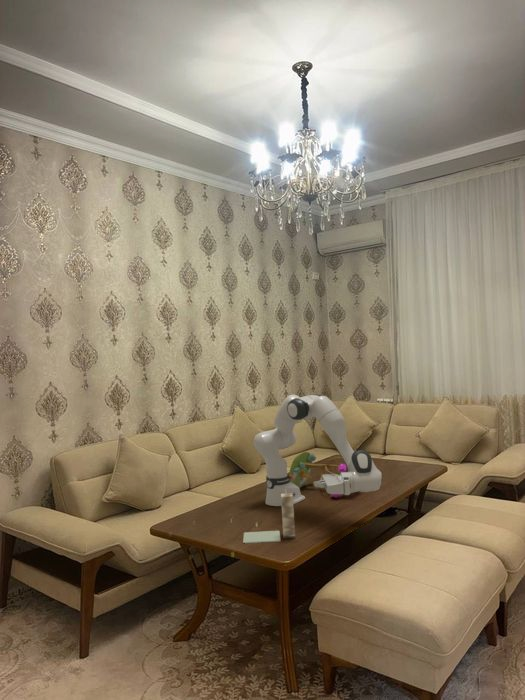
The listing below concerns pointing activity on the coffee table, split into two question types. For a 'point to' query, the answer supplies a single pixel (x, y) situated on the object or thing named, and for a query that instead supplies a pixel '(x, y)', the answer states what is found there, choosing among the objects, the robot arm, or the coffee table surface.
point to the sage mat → (261, 537)
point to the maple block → (288, 515)
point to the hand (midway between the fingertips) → (313, 484)
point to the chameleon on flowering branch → (303, 469)
